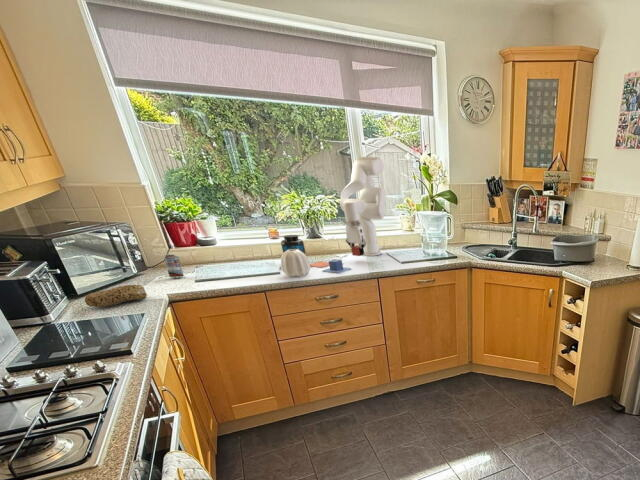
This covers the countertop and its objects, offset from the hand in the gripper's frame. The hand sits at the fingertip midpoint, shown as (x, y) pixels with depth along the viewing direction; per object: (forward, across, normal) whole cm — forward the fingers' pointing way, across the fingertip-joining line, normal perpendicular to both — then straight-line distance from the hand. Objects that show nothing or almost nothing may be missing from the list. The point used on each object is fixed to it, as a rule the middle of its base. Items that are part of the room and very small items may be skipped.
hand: (358, 254), depth 255 cm
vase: (+3, +10, +41) cm, 42 cm away
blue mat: (+3, -2, +24) cm, 25 cm away
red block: (0, 0, 0) cm, 0 cm away
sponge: (+1, +44, +108) cm, 117 cm away
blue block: (+3, -2, +24) cm, 25 cm away
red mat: (+4, +15, +17) cm, 23 cm away
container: (+4, +29, +21) cm, 36 cm away
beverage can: (+3, +62, +69) cm, 93 cm away
